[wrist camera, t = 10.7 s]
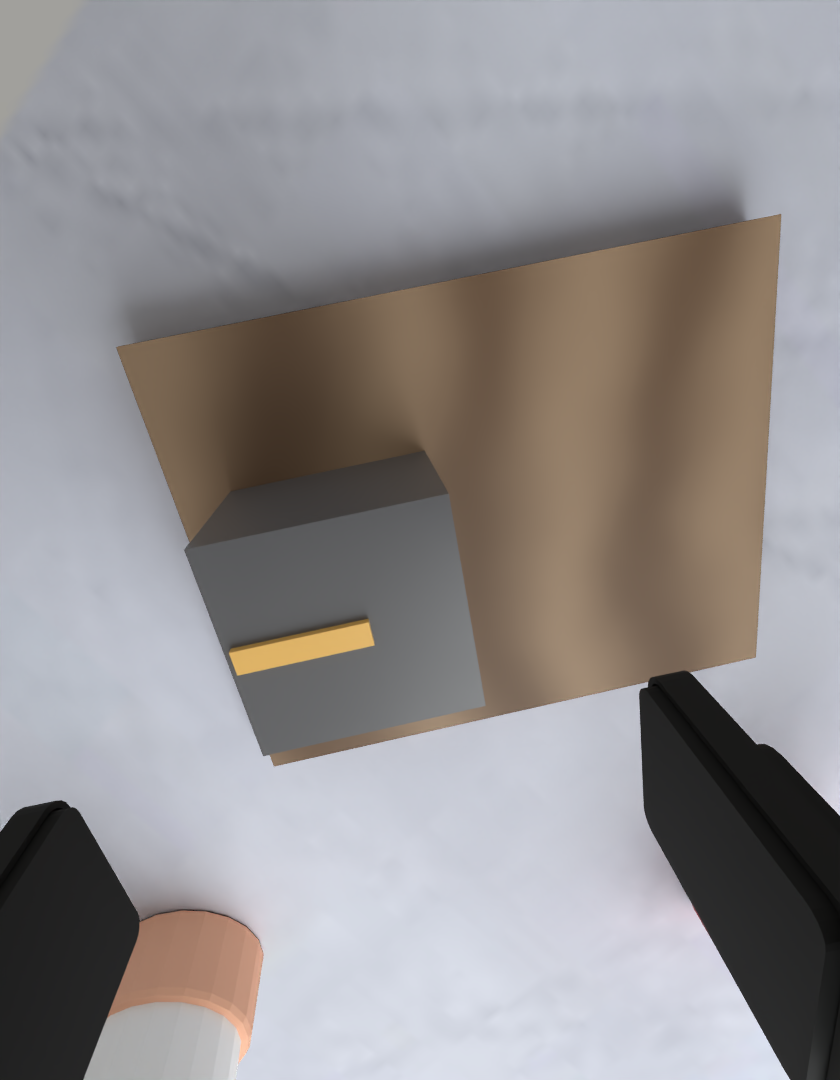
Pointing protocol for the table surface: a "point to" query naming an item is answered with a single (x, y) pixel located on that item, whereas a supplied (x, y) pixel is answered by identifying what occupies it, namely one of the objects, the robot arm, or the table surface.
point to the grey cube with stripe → (340, 602)
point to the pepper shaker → (182, 1002)
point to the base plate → (523, 446)
